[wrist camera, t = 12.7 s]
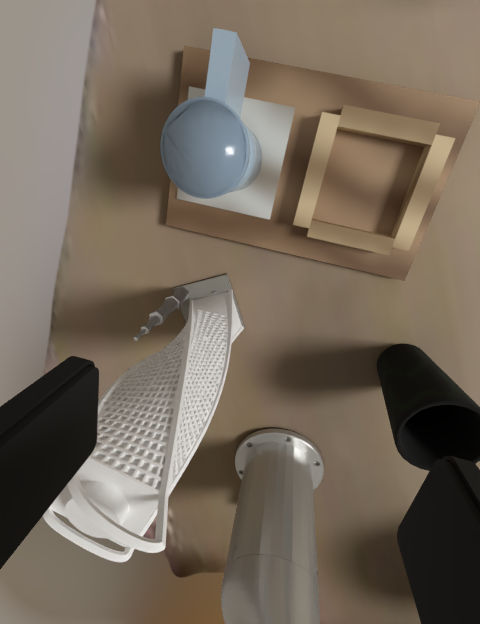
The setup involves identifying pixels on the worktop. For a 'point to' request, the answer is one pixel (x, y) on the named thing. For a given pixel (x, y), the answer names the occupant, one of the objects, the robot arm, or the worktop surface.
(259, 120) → the board
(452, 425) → the cup
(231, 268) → the worktop surface
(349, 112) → the cradle
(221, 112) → the blue cylinder with tab
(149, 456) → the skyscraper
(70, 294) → the worktop surface
